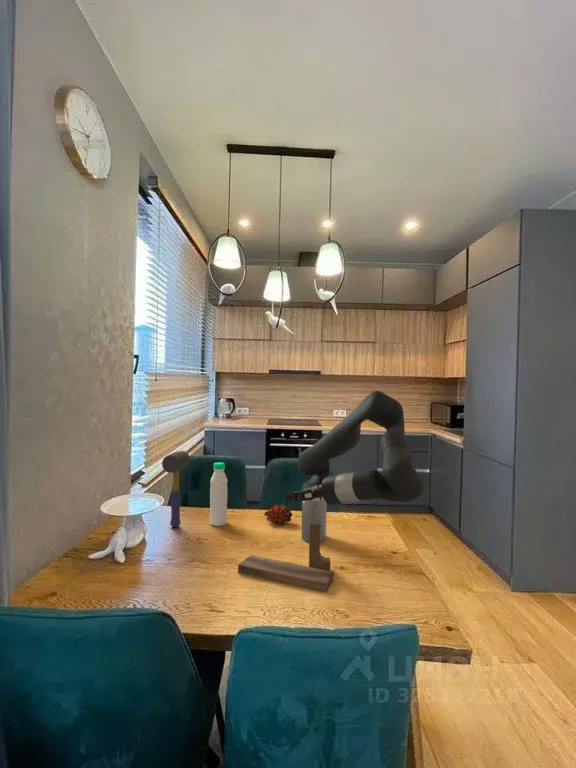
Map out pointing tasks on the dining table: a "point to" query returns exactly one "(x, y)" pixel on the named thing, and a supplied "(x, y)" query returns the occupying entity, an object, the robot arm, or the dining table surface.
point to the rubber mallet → (175, 481)
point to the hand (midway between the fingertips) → (294, 496)
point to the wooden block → (316, 548)
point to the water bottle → (218, 496)
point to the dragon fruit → (278, 514)
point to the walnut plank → (287, 573)
